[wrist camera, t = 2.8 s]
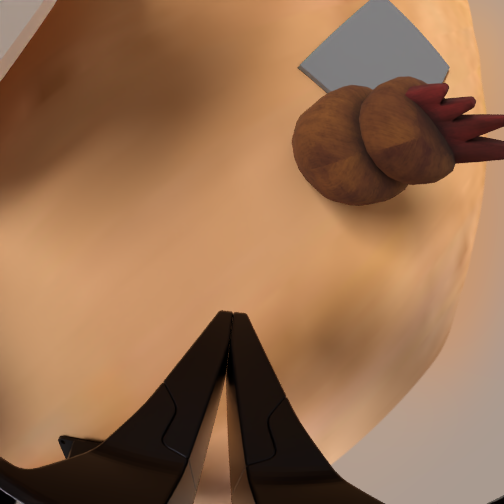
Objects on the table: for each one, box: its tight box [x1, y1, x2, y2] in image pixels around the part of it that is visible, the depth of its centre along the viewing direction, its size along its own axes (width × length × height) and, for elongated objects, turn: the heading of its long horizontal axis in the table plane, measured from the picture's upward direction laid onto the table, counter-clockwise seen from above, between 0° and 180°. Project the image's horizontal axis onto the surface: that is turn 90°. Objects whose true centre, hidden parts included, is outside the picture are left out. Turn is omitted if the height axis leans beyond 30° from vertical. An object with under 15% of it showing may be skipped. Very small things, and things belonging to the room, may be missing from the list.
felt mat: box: [298, 0, 449, 93], centre depth 20 cm, size 16×11×1 cm
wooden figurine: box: [292, 76, 504, 206], centre depth 13 cm, size 7×6×15 cm
